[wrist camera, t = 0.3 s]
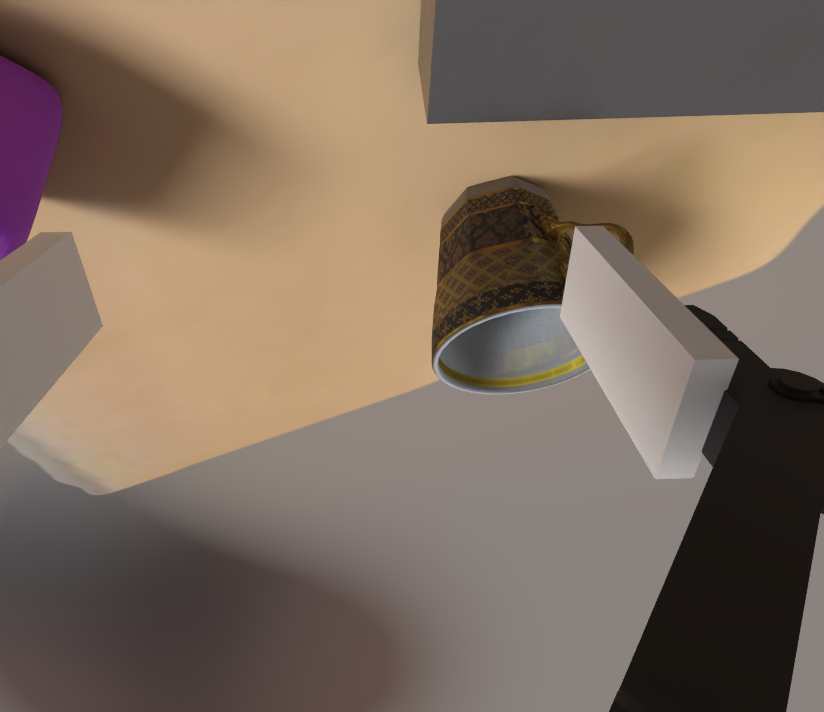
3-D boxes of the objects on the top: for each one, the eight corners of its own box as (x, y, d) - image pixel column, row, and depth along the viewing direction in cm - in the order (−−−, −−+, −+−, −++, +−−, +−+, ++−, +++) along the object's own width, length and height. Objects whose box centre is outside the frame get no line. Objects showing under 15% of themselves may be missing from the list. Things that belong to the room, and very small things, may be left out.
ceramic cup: (507, 279, 41) (533, 404, 36) (387, 242, 36) (399, 381, 31) (651, 151, 31) (712, 299, 27) (513, 79, 27) (557, 243, 22)
